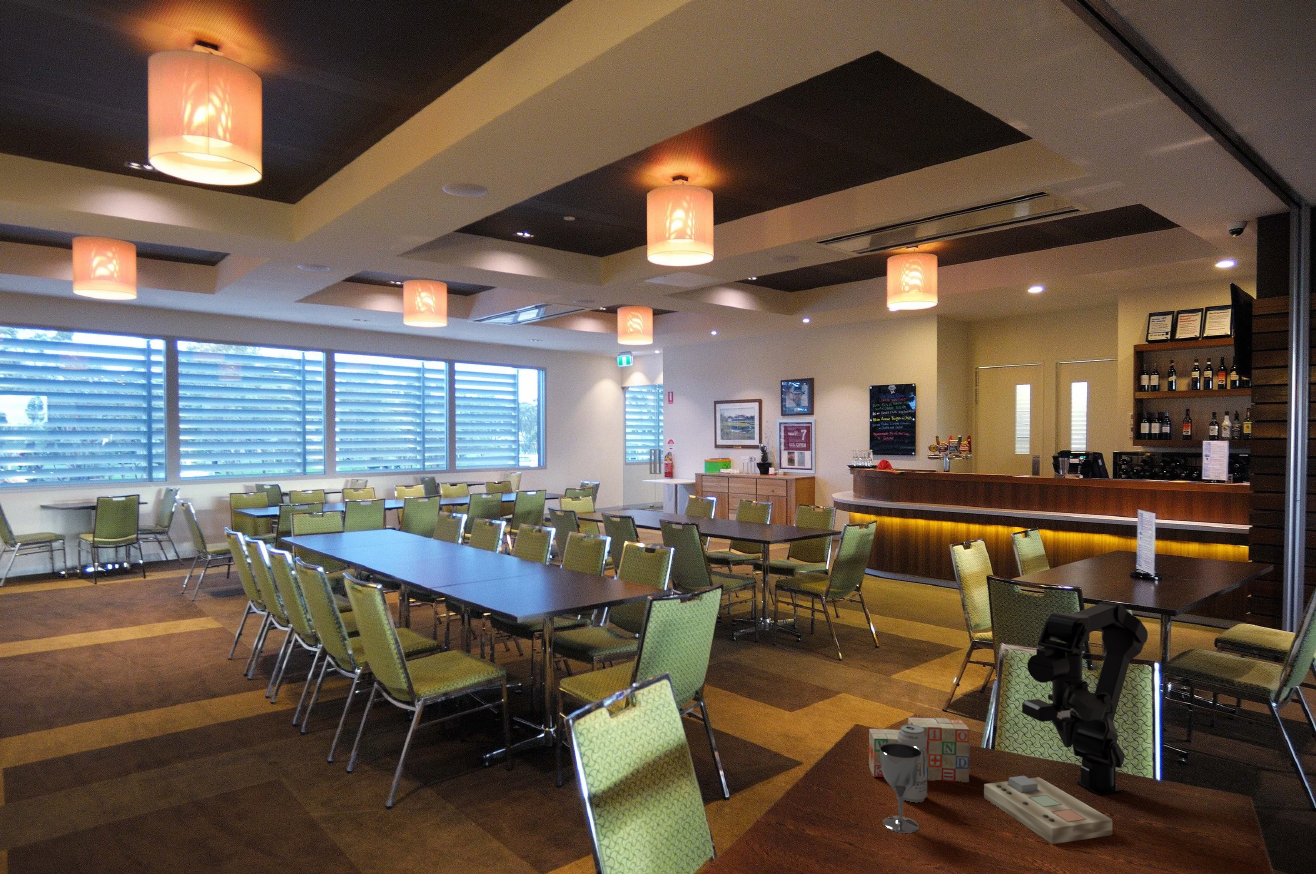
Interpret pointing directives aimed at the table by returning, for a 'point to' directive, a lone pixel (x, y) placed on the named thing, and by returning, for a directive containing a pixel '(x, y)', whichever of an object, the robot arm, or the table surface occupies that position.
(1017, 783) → the three-dot key
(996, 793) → the key panel
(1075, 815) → the two-dot key
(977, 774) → the table surface
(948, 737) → the stack of blocks
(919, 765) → the wine glass
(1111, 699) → the robot arm
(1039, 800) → the one-dot key
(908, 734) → the energy drink can
